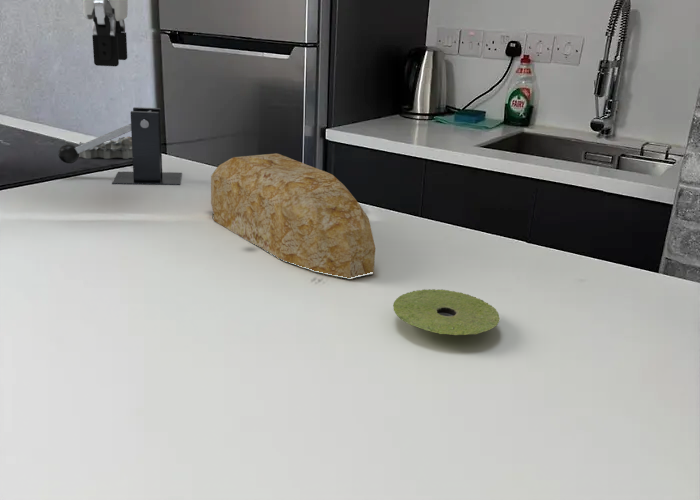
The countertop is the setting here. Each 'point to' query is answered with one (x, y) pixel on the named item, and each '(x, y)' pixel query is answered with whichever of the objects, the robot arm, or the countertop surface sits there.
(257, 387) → the countertop surface
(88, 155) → the egg carton
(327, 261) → the bread
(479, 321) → the green disc with hole
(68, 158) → the lever
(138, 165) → the bracket
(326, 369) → the countertop surface
